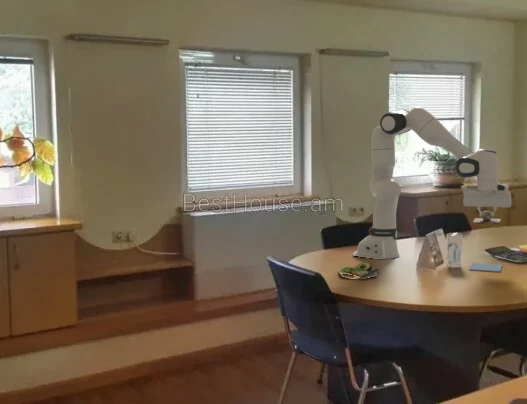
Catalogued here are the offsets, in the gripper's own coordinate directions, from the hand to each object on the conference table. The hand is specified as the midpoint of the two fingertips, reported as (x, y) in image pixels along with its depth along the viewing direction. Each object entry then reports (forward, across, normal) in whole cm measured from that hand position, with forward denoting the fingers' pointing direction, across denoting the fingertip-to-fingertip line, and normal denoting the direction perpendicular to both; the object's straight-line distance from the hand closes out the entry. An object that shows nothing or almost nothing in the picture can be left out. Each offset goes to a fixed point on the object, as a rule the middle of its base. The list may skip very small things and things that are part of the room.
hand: (486, 216), depth 297 cm
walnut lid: (+2, 0, 0) cm, 2 cm away
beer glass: (+23, -14, -1) cm, 27 cm away
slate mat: (+23, 0, 0) cm, 23 cm away
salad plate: (+24, -51, -29) cm, 63 cm away
